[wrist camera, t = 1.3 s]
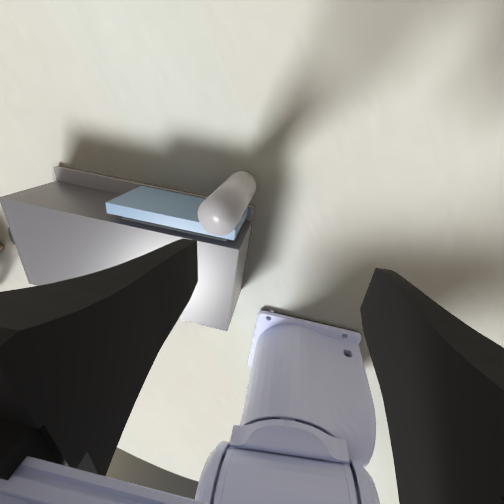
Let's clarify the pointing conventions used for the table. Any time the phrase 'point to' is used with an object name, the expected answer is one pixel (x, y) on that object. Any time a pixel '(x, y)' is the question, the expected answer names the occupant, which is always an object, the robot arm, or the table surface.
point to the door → (191, 207)
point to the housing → (116, 240)
